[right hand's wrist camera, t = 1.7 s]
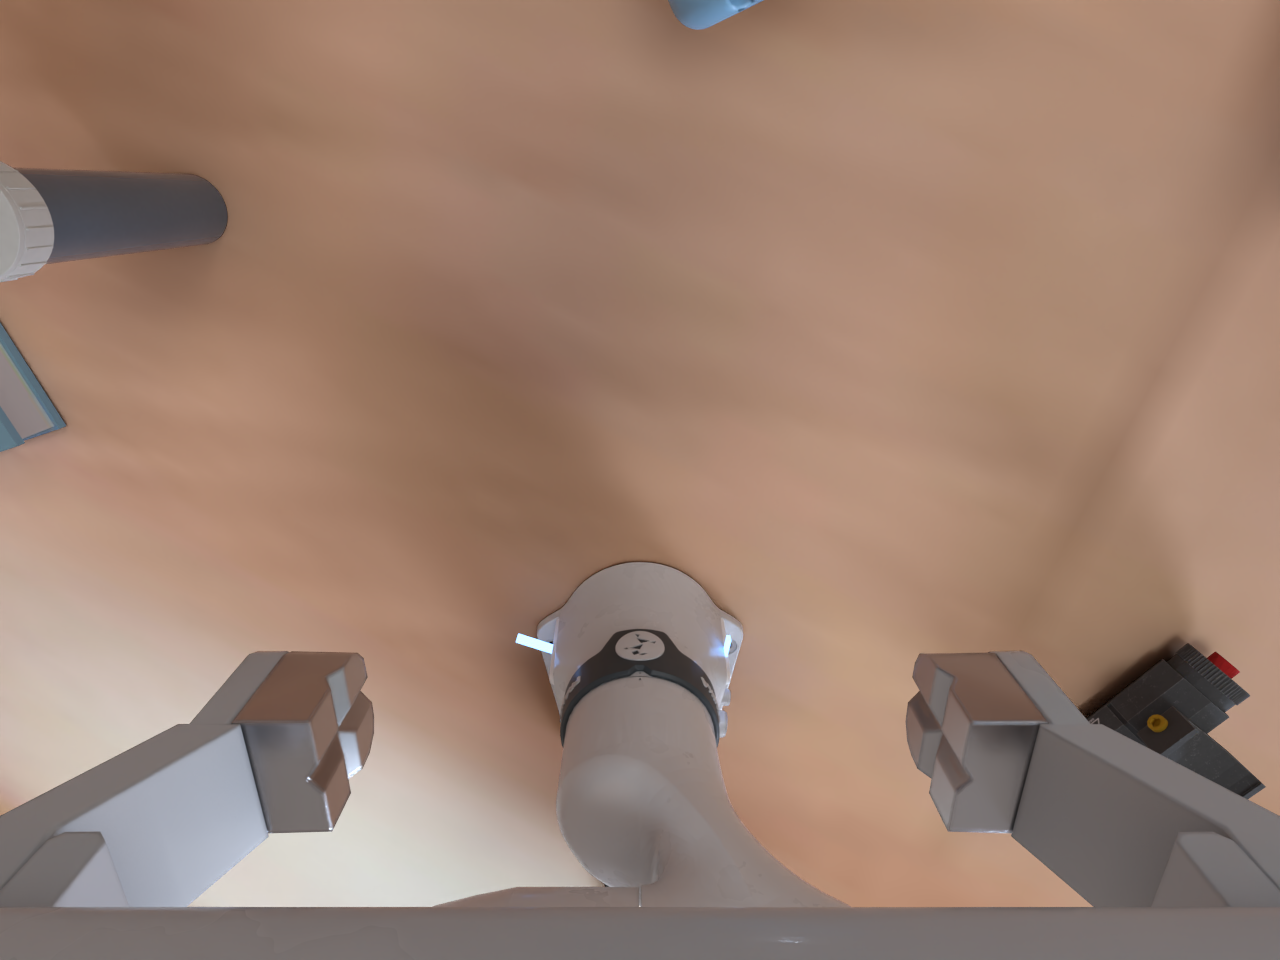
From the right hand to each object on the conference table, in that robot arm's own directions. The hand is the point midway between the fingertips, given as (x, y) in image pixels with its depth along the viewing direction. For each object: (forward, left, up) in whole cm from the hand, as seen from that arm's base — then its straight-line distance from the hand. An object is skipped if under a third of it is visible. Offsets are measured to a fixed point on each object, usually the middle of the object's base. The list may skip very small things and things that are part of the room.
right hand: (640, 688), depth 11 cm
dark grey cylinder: (+6, +33, -48) cm, 58 cm away
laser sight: (-41, -45, -48) cm, 77 cm away
